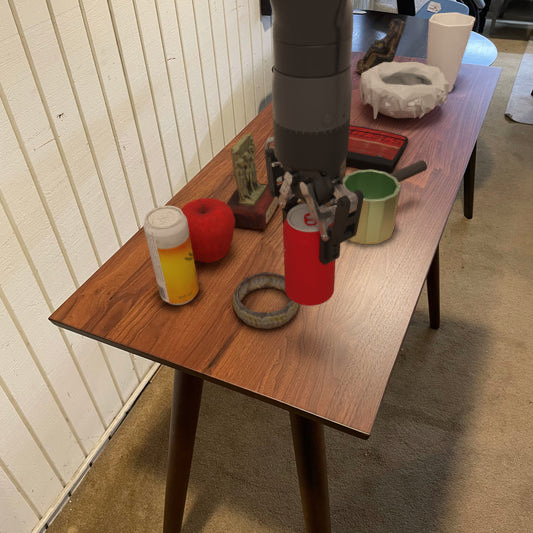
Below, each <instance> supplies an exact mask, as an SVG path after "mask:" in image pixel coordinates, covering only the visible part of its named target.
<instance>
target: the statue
mask: <svg viewBox="0 0 533 533" xmlns="http://www.w3.org/2000/svg"><path fill="white" fill-rule="evenodd" d="M387 27H388V29H389V30H388V31H387V33H386V34H385V36H383V38H381V39H374V40H373V43H372V44H371V45H370V46H369V48H368V49H367V51H366V52H365V55H364V56H363V58H360V59H359V60H357V61H356V69H355V70H356V73H359V74H361V75H362V73H363V72H365V71H368V70H369V69H371V68H373V67H374V66H377V65H379V64H381V63H383V62H389V63H390V62H394V59H395V56H396V54H397V51H398V47H399V44H400V41H401V40H402V36H403V33H404V31H405V27H406V23H405V22H404V21H403V20H402V19H400V18H393V19H391V20H390V22H389V24H388V26H387ZM357 70H359V71H357ZM362 71H363V72H362Z"/></svg>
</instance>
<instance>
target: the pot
mask: <svg viewBox="0 0 533 533" xmlns="http://www.w3.org/2000/svg"><path fill="white" fill-rule="evenodd" d="M427 169H428V165H427V162H426V161H425V160H423V159H420V160H418V161H416V162H413V163H412V164H411V163H410V164H409V165H406V166H404V167H402V168H400V169H398V170H396V171H393V172H392V173H391V174H388V173H386V172H382V171H377V170H371V169H369V170H366V169H357V170H355V171H352V172H350V173H347V174H345V177H344V179H343V186H344V187H346V188H347V189H348V190H349V191H351V192H353V191H356V190H360V191H361V192H362V193H363V196H364V199H363V204H362V209H361V214H360V219H359V224H358V229H357V233H356V236H354V237H352V238H350V239H348V240H347V241H350V242H353V243H355V244H356V243H357V244H360V245H377V244H378V245H379V244H381V243H383V242H385V241H387V240H389V239H390V238H391V236H392V235H393V233H394V230H395V226H396V218H397V212H398V206H399V200H400V194H401V188H402V187H401V186H402V185H400V183H402V182H404V181H405V180H408V179H410V178H412V177H415V176H416V175H419V174H421V173H423V172H425V171H426V170H427Z"/></svg>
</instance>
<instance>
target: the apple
mask: <svg viewBox="0 0 533 533" xmlns="http://www.w3.org/2000/svg"><path fill="white" fill-rule="evenodd" d="M180 209H181V210H182V212H183V214H184V215H185V216H186V218H187V223H188V228H189V234H190V240H191V246H192V251H193V257H194V261H197V262H201V263H205V264H212V263H215V262H218V261H220V260H221V259H223V258H224V257H226V256H227V254H228V253H229V252H230V248H231V246H232V242H233V238H234V232H235V227H236V226H235V218H234V215H233V212H232V210H231V208H230V206H229V205H227V202H224V201H223V200H220V199H217V198H212V197H200V198H196V199H193V200H190V201H189V202H187V203H186V204H184V205H183V206H182V207H181V208H180Z"/></svg>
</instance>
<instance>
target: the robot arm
mask: <svg viewBox="0 0 533 533" xmlns="http://www.w3.org/2000/svg"><path fill="white" fill-rule="evenodd" d="M269 3H270V6H271V11H272V23H271V34H272V36H271V38H272V59H273V60H272V62H273V63H272V64H273V66H272V67H273V73H272V81H271V105H272V106H271V107H272V134H273V136H272V137H274V142H273V146H271V147H269V148H270V149H267V150H265V149H264V161H265V169H266V175H267V176H266V177H267V184H268V185H269V192H270V195H271V196H272V197H273V198H274V197H277V198H278V199H279V200H278V207H280V208H281V216H282V217H281V218H282V226H283V225H284V222H285V220H286V218H287V214H288V212H289V211H290V210H291V209H292V208H293V207H295V206H297V205H300V204H299V203H298V202H299V201H300V200H303V201H304V202H305V203H306V204H307V205H308V209H309V212H310V215H311V219H312V220H313V221H316V222H317V225H318V228H319V232H320V235H321V237H320V248H319V261H320V262H321V263H322V264H324V265H326V264H328V263H330V262H332V261H334V260H336V261H337V259H339V258H340V256H341V244H342V243H344V242H346V241H349V240H348V239H350V238H352V237H354V236H356V233H357V229H358V224H359V219H360V214H361V209H362V204H363V199H364V196H363V193H362V192H361V191H360V190H356V191H353V192H351V191H349V190H348V189H347V188H346V187H344V186H343V180H342V176H341V171H340V168H341V166H342V164H343V162H344V160H345V158H346V156H347V154H348V145H349V130H350V125H351V115H352V114H351V113H352V112H351V111H352V98H353V97H352V96H353V81H352V53H353V51H352V50H353V34H354V8H353V4H352V1H351V0H269ZM281 176H282V182H280V183H279V184H278V182H277V179H278V178H279V177H281ZM328 202H331V204H330V206H329V207H327V208H326V209H324V210H322V211H320V210H319V207H320V206H322V205H324V204H327V203H328ZM329 217H331V218H332V222H333V226H331V227H329V228H328V224H327V219H328V218H329Z"/></svg>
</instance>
